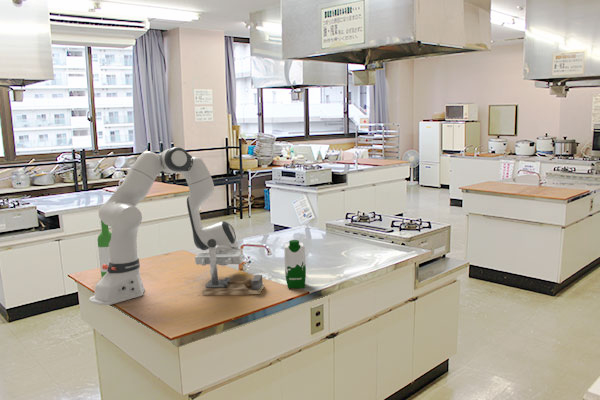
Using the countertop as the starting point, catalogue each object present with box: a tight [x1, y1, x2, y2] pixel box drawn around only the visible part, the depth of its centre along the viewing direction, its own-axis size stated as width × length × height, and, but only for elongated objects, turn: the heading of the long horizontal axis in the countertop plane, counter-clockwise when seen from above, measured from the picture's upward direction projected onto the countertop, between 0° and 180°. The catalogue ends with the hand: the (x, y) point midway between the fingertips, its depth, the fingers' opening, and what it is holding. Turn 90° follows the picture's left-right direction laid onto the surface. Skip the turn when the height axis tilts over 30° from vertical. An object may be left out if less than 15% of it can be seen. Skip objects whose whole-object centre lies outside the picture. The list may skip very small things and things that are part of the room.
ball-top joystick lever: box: [205, 239, 231, 288], centre depth 206 cm, size 9×7×21 cm
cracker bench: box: [201, 274, 265, 296], centre depth 207 cm, size 24×10×6 cm, turn 84°
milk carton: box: [283, 239, 307, 290], centre depth 208 cm, size 9×9×20 cm
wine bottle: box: [97, 220, 112, 279], centre depth 233 cm, size 8×8×30 cm
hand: (214, 263), depth 208 cm, fingers open, 8 cm apart
